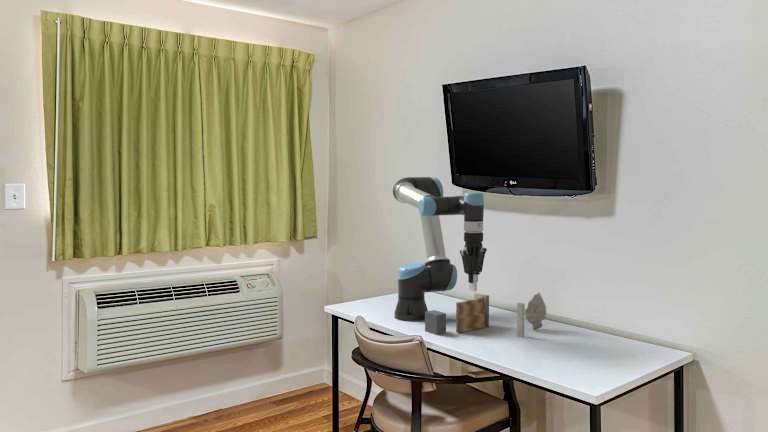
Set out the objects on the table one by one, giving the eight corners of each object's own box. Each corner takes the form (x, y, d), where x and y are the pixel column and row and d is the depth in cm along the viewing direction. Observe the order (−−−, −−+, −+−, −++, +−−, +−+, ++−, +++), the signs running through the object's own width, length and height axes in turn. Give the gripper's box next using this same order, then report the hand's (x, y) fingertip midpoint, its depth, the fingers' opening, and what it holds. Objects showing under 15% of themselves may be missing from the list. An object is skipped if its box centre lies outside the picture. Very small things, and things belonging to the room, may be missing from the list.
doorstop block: (425, 331, 239) (424, 311, 239) (434, 329, 242) (434, 310, 242) (436, 335, 234) (436, 315, 233) (445, 333, 237) (445, 313, 236)
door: (480, 325, 246) (480, 297, 245) (484, 326, 244) (484, 298, 243) (454, 331, 237) (454, 302, 236) (458, 332, 235) (458, 303, 234)
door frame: (473, 323, 250) (474, 293, 249) (477, 323, 251) (477, 292, 250) (521, 337, 229) (521, 304, 228) (524, 336, 231) (525, 303, 230)
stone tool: (529, 332, 235) (529, 295, 234) (522, 330, 239) (523, 294, 237) (549, 329, 241) (550, 292, 240) (543, 327, 244) (543, 291, 243)
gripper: (468, 233, 226) (467, 294, 228) (492, 231, 234) (491, 290, 236) (454, 232, 232) (454, 291, 234) (478, 229, 240) (477, 287, 242)
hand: (473, 290), depth 235 cm, fingers closed
